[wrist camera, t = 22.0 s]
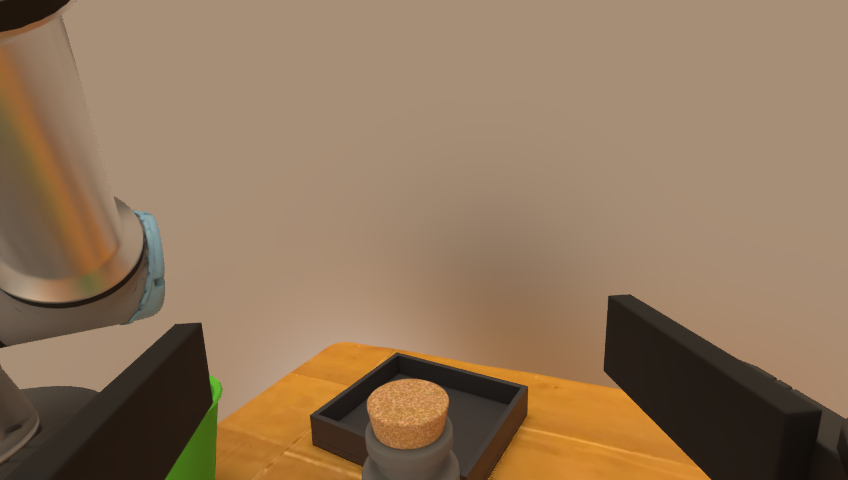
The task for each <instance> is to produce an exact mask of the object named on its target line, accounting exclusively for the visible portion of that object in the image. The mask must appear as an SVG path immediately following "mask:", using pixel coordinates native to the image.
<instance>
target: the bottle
mask: <svg viewBox="0 0 848 480" xmlns="http://www.w3.org/2000/svg"><path fill="white" fill-rule="evenodd" d="M448 406H449V397H448V395H447V393H446V392H445V390H444V389H443V388H441V387H440V386H439V385H437V384H435V383H432V382H429V381H426V380H420V379H402V380H397V381H392V382H389V383H386V384H384V385H382V386H380V387H379V388H377V389H376V390H374V391H373V392H372V393H371V395H370V396H369V398H368V401H367V410H368V414H369V417H370V421H369V423H368V425H367V427H366V432H365V440H366V448H367V452H368V454H369V456H368V457H367V459H366V461H365V463H364V466H363V471H362V480H460V470H459V463H458V460H457V457H456V456H455V454H454V453H453V451H452V450H451V448H452V444H453V426H452V423H451V421H450V419H449V417H448V416H447V411H448Z"/></svg>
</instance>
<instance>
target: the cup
mask: <svg viewBox="0 0 848 480" xmlns="http://www.w3.org/2000/svg"><path fill="white" fill-rule="evenodd" d="M209 377H210V384H211V391H212V398H213V404H212V406H211V407H210V409H209V410H208V412H207V413H206V415H205V417H204V418H203V420H202V421H201V423H200V425H199V426H198V428H197V429H196V431H195V433H194V434H193V436H192V437H191V439H190V441H189V442H188V444H187V445H186V447H185V449H184V450H183V452H182V453H181V455H180V456H179V458H178V460H177V461H176V463H175V464H174V466H173V468H172V469H171V471H170V472H169V474H168V476H167V477H166V479H165V480H215V464H216V437H217V410H218V409H217V408H218V400H219V399H220V398H221V394H222V390H223V389H222V386H221V383H220V382H219V381H218V380H217V379H216V378H214V377H213V376H210V375H209Z"/></svg>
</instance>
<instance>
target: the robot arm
mask: <svg viewBox="0 0 848 480" xmlns="http://www.w3.org/2000/svg"><path fill="white" fill-rule="evenodd" d="M76 1H77V0H0V348H3V347H7V346H12V345H16V344H21V343H27V342H31V341H37V340H42V339H47V338H52V337H57V336H62V335H67V334H72V333H77V332H82V331H87V330H92V329H97V328H102V327H107V326H113V325H118V324H119V325H125V324H130V323H133V322H134V321H136V320H140V319H144V318H148V317H151V316H154V315H155V314H157V313H158V312H159V311H160V310H161V308H162V306H163V303H164V296H165V281H164V258H163V250H162V243H161V237H160V232H159V228H158V225H157V222H156V220H155V218H154V217H153V216H152V215H151V214H150V213H148V212H139V211H135V210H131V209H130V207H128V206H127V205H126V204H125V203H124V202H122V201H121V200H119V199H118V198H116V197H114V196H113V194H112V190H111V187H110V183H109V179H108V176H107V172H106V169H105V165H104V162H103V158H102V155H101V151H100V148H99V144H98V141H97V138H96V134H95V130H94V127H93V124H92V120H91V117H90V113H89V110H88V106H87V102H86V99H85V96H84V92H83V89H82V85H81V81H80V78H79V74H78V71H77V67H76V64H75V60H74V57H73V53H72V50H71V47H70V43H69V39H68V36H67V32H66V29H65V26H64V22H63V19H62V14H63V13H64V12H66V11H67V10H68V9H69V8H70V7H71V6H72V5H73V4H74V3H75V2H76ZM604 371H605V372H606V373H607V375H608V376H609V377H610V378H611V379H613V381H614V382H616V384H617V385H619V387H620V388H621V389H622V390H623V391H624V392H625V393H626V394H627V395H628V396H629V397H630V398H631V399H632V400H633V401H634V402H635V403H636V404H637V405H638V406H639V407H640V408H641V409H642V410H643V411H644V412H645V413H646V414H647V415H648V416H649V417H650V418H651V419H652V420H653V421H654V422H655V423H656V424H657V425H658V426H659V427H660V428H661V429H662V430H663V431H664V432H665V433H666V434H667V435H668V436H669V437H670V438H671V439H672V440H673V441H674V442H675V443H676V444H677V445H678V446H679V447H680V448H681V449H682V450H683V451H684V452H685V453H686V454H687V455H688V456H689V457H690V458H691V459H692V460H693V461H694V462H695V463H696V464H697V465H698V466H699V467H700V469H701V470H702V471H703V472H704V473H705V474H706V475H707V476H708V477H709V478H710V479H711V480H848V418H847V419H845V418H843V417H841V416H840V415H838V414H836V413H835V412H833V411H831V410H830V409H828V408H826V407H825V406H823V405H821V404H820V403H818V402H816V401H814V400H812V399H811V398H809V397H808V396H806V395H804V394H803V393H801V392H799V391H798V390H793V389H792V387H791V386H789V385H787V384H786V383H784V382H782V381H781V380H777V378H775V377H774V376H772V375H770V374H769V373H767V372H765V371H764V370H762V369H760V368H759V367H756V366H754V365H751V364H748V363H746V362H743V361H741V360H738V359H736V358H735V357H733V356H731V355H730V354H728V353H727V352H725V351H723V350H722V349H720V348H718V347H716V346H715V345H713V344H712V343H710V342H708V341H706V340H705V339H703V338H702V337H700V336H698V335H697V334H695V333H693V332H692V331H690V330H688V329H687V328H685V327H683V326H682V325H680V324H678V323H677V322H675V321H673V320H672V319H670V318H668V317H667V316H665V315H663V314H662V313H660V312H658V311H657V310H655V309H654V308H652V307H650V306H649V305H647V304H645V303H644V302H642V301H640V300H639V299H637V298H635V297H634V296H632V295H615V296H608V311H607V327H606V342H605V357H604ZM212 404H213V398H212V391H211V384H210V377H209V371H208V364H207V357H206V351H205V344H204V337H203V331H202V324H201V323H187V324H175V325H174V326H173V327H172V328H171V329H169V330H168V331H167V332H166V333H165V334H164V335H163V336H162V337H161V338H160V339H159V340H157V341H156V342H155V343H154V344H153V345H152V346H151V347H150V348H148V349H147V350H146V351H145V352H144V353H143V354H142V355H141V356H140V357H139V358H137V359H136V360H135V361H134V362H133V363H132V364H131V365H130V366H129V367H127V368H126V369H125V370H124V371H123V372H122V373H121V374H120V375H119V376H118V377H116V378H115V379H114V380H113V381H112V382H111V383H110V384H109V385H108V386H106V387H105V388H104V389H103V390H102V391H101V392H100V393H99V394H98V395H96V396H95V397H94V398H93V399H92V400H91V401H90V402H89V403H88V404H87V405H85V406H84V407H83V408H82V409H81V410H80V411H79V412H78V413H77V414H69V415H68V416H66V417H64V418H62V419H61V420H59V421H57V422H55V423H54V424H52V425H50V426H48V427H47V428H45V429H44V430H42V428H41V424H40V420H39V416H38V412H37V411H36V409H35V408H34V406H33V405H32V404H31V402H30V401H29V400H28V399H27V398H26V396H25V395H24V394H23V393H22V392H21V391H20V389H19V388H18V387H17V386H16V385H15V383H13V381H12V380H11V379H10V378H9V377H8V375H7V374H6V373H5V372H4V370H3V369H2V367H1V365H0V480H165V479H166V477H167V476H168V474H169V472H170V471H171V469H172V468H173V466H174V464H175V463H176V461H177V460H178V458H179V456H180V455H181V453H182V452H183V450H184V449H185V447H186V445H187V444H188V442H189V441H190V439H191V437H192V436H193V434H194V433H195V431H196V429H197V428H198V426H199V425H200V423H201V421H202V420H203V418H204V417H205V415H206V413H207V412H208V410H209V409H210V407H211V406H212ZM41 430H42V431H41Z"/></svg>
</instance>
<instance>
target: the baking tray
mask: <svg viewBox="0 0 848 480" xmlns="http://www.w3.org/2000/svg"><path fill="white" fill-rule="evenodd" d="M402 379H420V380H426V381H429V382H432V383H435V384H437V385H439V386H440V387H441V388H443V389H444V390H445V392H446V393H447V395H448V397H449V406H448V411H447V416H448V417H449V419H450V421H451V423H452V426H453V444H452V448H451V450H452V451H453V453H454V454H455V456H456V457H457V460H458V463H459V470H460V480H487V479H488V477H489V475H490V474H491V472H492V470H493V469H494V467H495V465H496V464H497V462H498V461H499V459H500V457H501V456H502V454H503V452H504V451H505V449H506V447H507V446H508V444H509V443H510V441H511V439H512V438H513V436H514V434H515V433H516V431H517V429H518V428H519V426H520V425H521V423H522V421H523V420H524V418H525V416H526V415H527V404H528V386H524V385H523V386H522V385H520V384H517V383H513V382H509V381H505V380H501V379H497V378H493V377H490V376H486V375H482V374H478V373H474V372H470V371H466V370H463V369H459V368H455V367H451V366H447V365H443V364H439V363H435V362H432V361H428V360H424V359H420V358H416V357H412V356H408V355H405V354H400V353H395V354H394V355H393V356H391V357H390V358H388V359H387V360H386V361H384V362H383V363H382V364H380V365H379V366H377V367H376V368H375V369H373V370H372V371H371V372H369V373H368V374H366V375H365V376H364V377H362V378H361V379H360V380H358V381H357V382H355V383H354V384H353V385H351V386H350V387H348V388H347V389H346V390H344V391H343V392H342V393H340V394H339V395H337V396H336V397H335V398H333V399H332V400H331V401H329V402H328V403H326V404H325V405H324V406H322V407H321V408H320V409H318V410H317V411H315V412H314V413H313V414H311V415H310V420H311V430H312V441H313V445H316V446H318V447H320V448H323V449H325V450H327V451H329V452H332V453H334V454H336V455H338V456H341V457H343V458H345V459H348V460H350V461H352V462H354V463H357V464H359V465H361V466H364V463H365V461H366V459H367V457H368V456H369V454H368V452H367V448H366V440H365V432H366V427H367V425H368V423H369V421H370V417H369V414H368V410H367V401H368V398H369V396H370V395H371V393H372V392H373V391H374V390H376V389H377V388H379V387H380V386H382V385H384V384H386V383H389V382H392V381H397V380H402Z"/></svg>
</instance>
